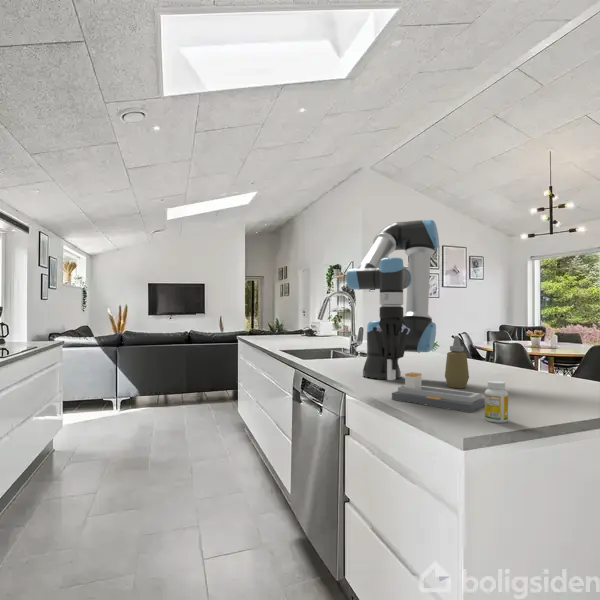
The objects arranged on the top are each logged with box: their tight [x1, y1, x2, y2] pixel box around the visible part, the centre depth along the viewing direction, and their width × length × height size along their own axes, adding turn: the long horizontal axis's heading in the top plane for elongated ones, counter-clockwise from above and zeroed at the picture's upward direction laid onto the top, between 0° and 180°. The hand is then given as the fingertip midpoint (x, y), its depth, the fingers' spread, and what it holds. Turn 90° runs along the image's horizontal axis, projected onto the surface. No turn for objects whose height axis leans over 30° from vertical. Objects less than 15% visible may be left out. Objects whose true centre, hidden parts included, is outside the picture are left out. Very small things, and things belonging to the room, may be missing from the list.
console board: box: [391, 385, 485, 413], centre depth 131 cm, size 24×12×4 cm, turn 48°
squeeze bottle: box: [444, 335, 470, 389], centre depth 156 cm, size 8×8×18 cm
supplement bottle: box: [484, 380, 509, 424], centre depth 110 cm, size 5×5×10 cm
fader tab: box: [404, 372, 422, 390], centre depth 136 cm, size 3×4×5 cm
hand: (391, 379), depth 141 cm, fingers closed
